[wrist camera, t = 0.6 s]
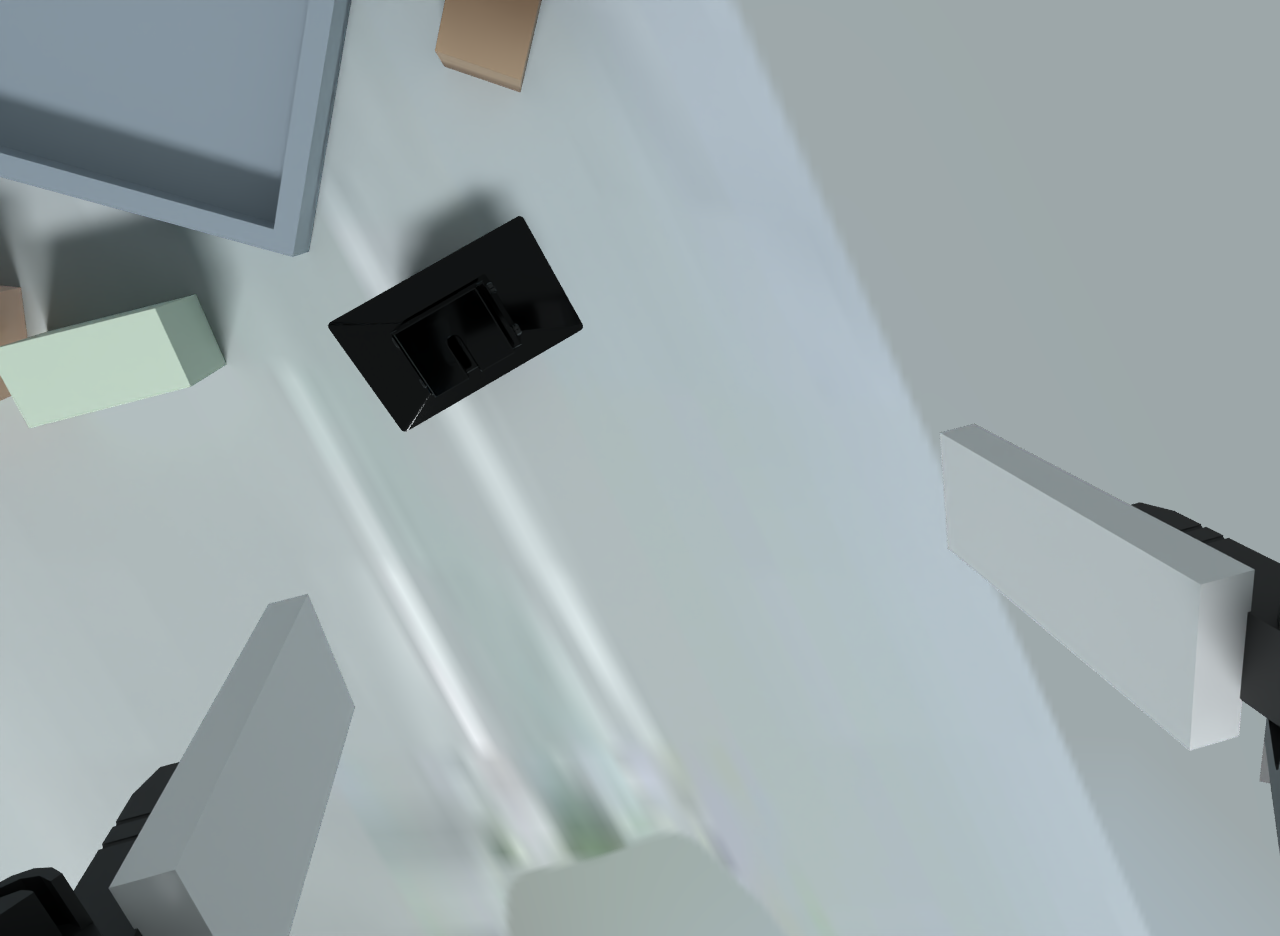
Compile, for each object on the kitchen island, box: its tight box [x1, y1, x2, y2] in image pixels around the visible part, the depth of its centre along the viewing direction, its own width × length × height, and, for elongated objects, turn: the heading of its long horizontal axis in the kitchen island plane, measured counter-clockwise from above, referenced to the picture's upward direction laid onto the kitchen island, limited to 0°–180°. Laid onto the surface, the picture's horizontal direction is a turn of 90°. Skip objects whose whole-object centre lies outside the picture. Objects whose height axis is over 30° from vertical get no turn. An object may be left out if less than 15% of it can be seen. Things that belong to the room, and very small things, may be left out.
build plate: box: [328, 216, 583, 431], centre depth 32 cm, size 12×7×5 cm, turn 118°
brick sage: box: [0, 294, 226, 428], centre depth 31 cm, size 6×3×4 cm, turn 103°
